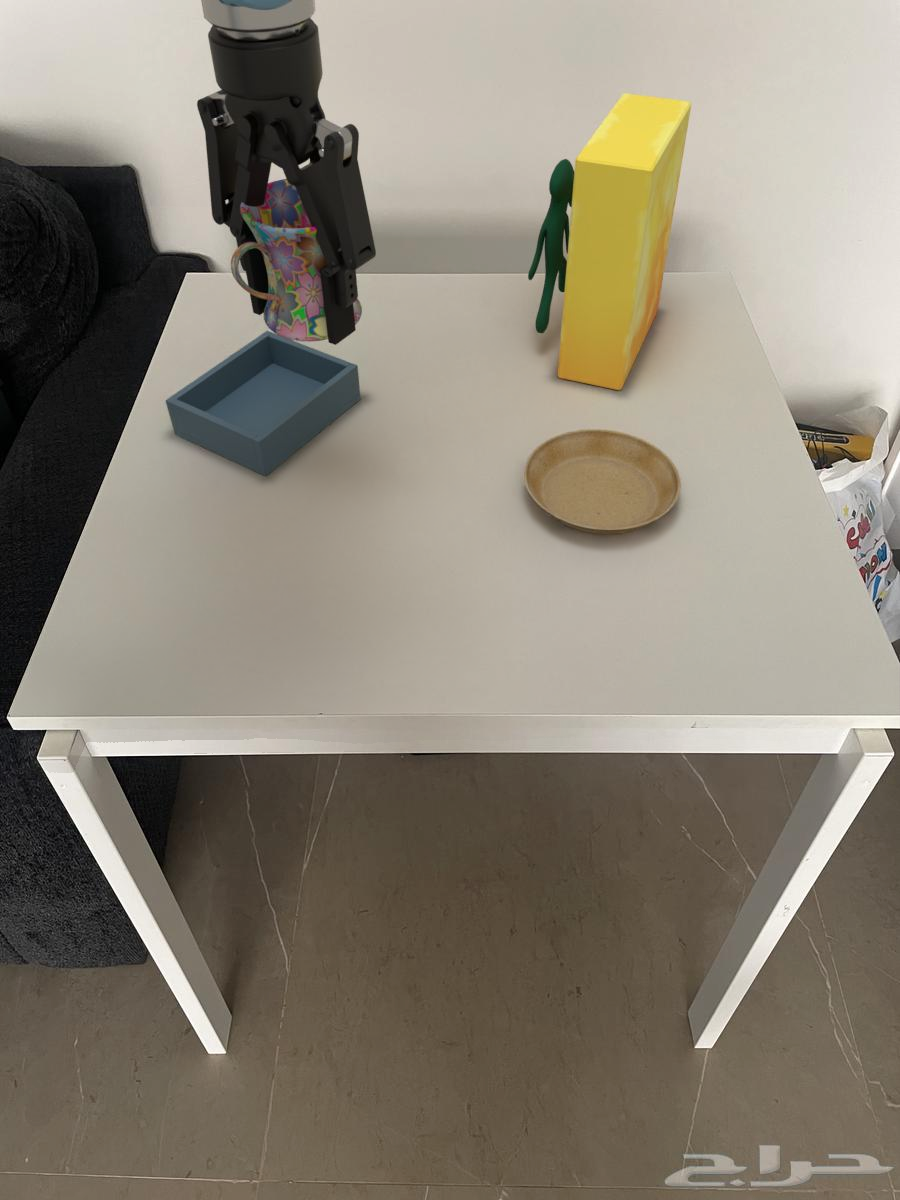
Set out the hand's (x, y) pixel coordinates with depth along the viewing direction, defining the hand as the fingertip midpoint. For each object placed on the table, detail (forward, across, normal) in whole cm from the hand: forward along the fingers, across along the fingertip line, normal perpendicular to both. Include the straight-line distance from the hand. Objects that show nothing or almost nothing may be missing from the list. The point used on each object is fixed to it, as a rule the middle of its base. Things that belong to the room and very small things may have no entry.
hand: (303, 321), depth 81 cm
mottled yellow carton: (+18, -10, -36) cm, 41 cm away
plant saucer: (+18, -24, -13) cm, 32 cm away
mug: (+1, 0, 0) cm, 1 cm away
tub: (+17, +12, -4) cm, 21 cm away
